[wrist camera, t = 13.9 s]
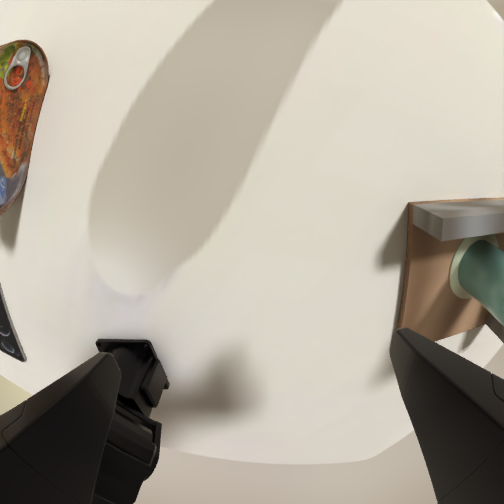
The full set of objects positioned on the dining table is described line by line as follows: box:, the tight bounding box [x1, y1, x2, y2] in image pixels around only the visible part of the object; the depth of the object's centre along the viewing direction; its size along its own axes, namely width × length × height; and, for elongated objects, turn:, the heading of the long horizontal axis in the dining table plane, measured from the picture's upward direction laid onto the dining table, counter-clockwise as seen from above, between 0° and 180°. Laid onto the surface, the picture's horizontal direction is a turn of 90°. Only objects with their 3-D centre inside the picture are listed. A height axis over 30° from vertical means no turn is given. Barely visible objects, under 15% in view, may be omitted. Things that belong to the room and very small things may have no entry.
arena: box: [397, 198, 504, 343], centre depth 18 cm, size 14×14×5 cm
